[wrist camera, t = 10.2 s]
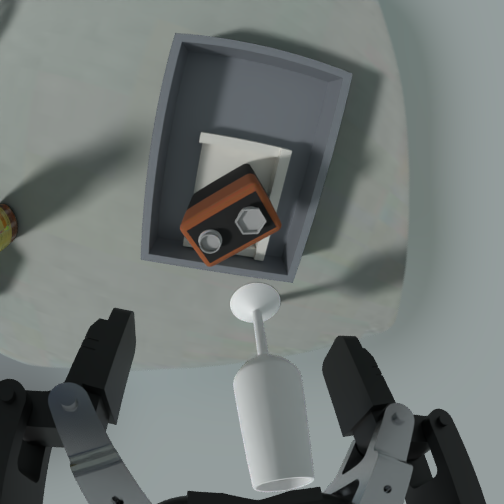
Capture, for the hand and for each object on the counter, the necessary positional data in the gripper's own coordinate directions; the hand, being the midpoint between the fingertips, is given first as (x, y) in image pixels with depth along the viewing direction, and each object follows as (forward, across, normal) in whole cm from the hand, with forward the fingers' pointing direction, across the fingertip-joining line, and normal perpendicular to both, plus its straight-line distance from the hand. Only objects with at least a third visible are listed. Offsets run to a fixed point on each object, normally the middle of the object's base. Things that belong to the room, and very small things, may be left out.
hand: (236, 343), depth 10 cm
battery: (+21, 0, 0) cm, 21 cm away
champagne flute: (+22, -6, +14) cm, 27 cm away
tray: (+22, 0, -4) cm, 22 cm away
